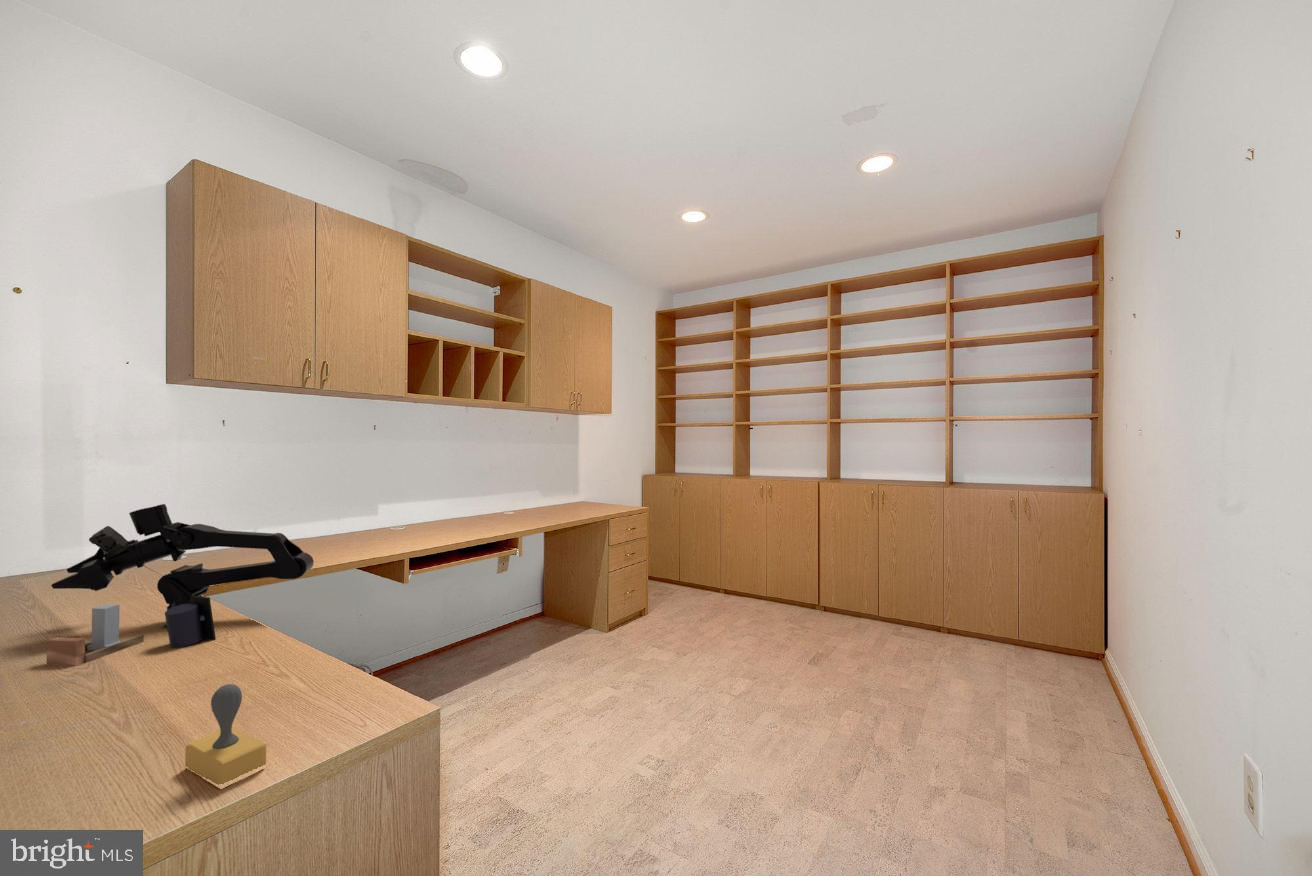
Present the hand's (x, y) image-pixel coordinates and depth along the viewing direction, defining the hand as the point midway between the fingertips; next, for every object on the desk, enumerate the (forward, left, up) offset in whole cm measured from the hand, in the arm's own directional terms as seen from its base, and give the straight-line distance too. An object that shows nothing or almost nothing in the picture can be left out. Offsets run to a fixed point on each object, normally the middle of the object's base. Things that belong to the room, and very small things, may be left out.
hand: (60, 578), depth 124 cm
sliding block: (-17, +10, -14) cm, 24 cm away
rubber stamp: (-70, +60, -14) cm, 93 cm away
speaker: (-32, +8, -14) cm, 36 cm away
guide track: (-16, +12, -14) cm, 24 cm away
